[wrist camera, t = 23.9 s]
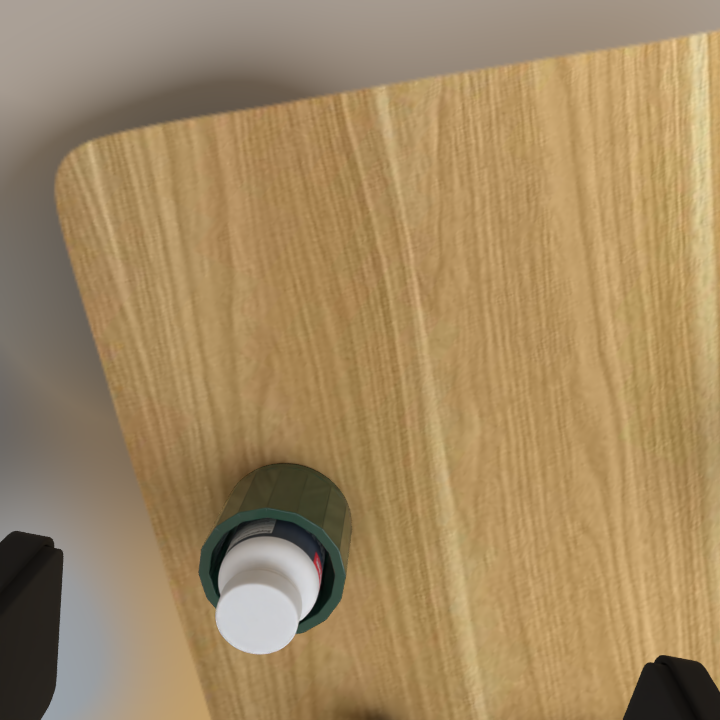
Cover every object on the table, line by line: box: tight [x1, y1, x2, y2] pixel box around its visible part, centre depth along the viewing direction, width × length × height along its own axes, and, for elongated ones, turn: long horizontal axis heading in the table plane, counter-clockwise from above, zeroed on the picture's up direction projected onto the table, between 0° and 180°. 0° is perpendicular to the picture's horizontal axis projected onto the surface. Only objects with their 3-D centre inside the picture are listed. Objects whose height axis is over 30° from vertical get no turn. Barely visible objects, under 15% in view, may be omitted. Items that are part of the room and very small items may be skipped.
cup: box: [199, 464, 352, 634], centre depth 38 cm, size 8×8×6 cm
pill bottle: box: [215, 518, 327, 654], centre depth 35 cm, size 5×5×9 cm
